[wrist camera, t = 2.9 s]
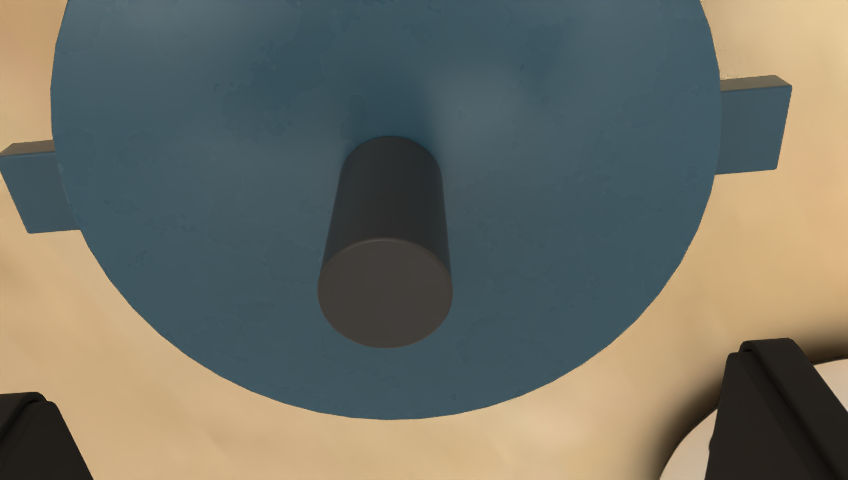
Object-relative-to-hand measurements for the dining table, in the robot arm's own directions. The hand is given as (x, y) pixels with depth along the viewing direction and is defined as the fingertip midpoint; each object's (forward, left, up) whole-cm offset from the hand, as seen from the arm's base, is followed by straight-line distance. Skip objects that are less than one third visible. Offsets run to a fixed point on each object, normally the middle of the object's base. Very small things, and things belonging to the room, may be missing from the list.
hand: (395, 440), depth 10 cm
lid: (0, 0, -9) cm, 9 cm away
